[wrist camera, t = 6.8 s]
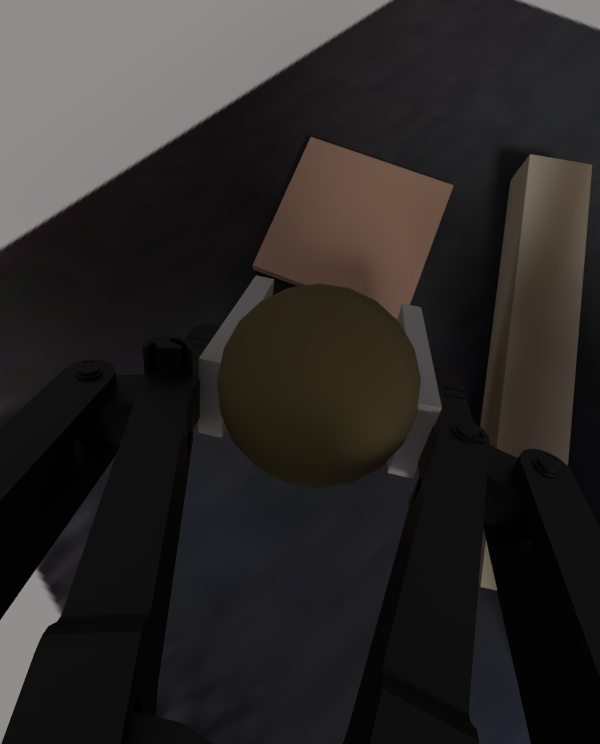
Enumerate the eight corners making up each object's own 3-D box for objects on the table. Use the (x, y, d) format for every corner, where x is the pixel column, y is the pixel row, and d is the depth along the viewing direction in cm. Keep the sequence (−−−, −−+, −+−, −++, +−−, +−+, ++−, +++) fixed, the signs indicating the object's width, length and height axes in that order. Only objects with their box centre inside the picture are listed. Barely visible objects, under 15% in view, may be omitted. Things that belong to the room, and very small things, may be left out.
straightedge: (567, 190, 23) (592, 164, 21) (530, 588, 19) (556, 604, 17) (510, 180, 23) (529, 154, 21) (462, 573, 19) (480, 587, 17)
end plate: (450, 191, 23) (453, 185, 22) (401, 324, 21) (403, 321, 21) (310, 143, 23) (310, 136, 23) (253, 269, 22) (252, 265, 21)
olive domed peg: (298, 333, 21) (292, 199, 10) (400, 405, 20) (509, 342, 9) (222, 431, 20) (128, 399, 9) (326, 511, 19) (354, 576, 9)
